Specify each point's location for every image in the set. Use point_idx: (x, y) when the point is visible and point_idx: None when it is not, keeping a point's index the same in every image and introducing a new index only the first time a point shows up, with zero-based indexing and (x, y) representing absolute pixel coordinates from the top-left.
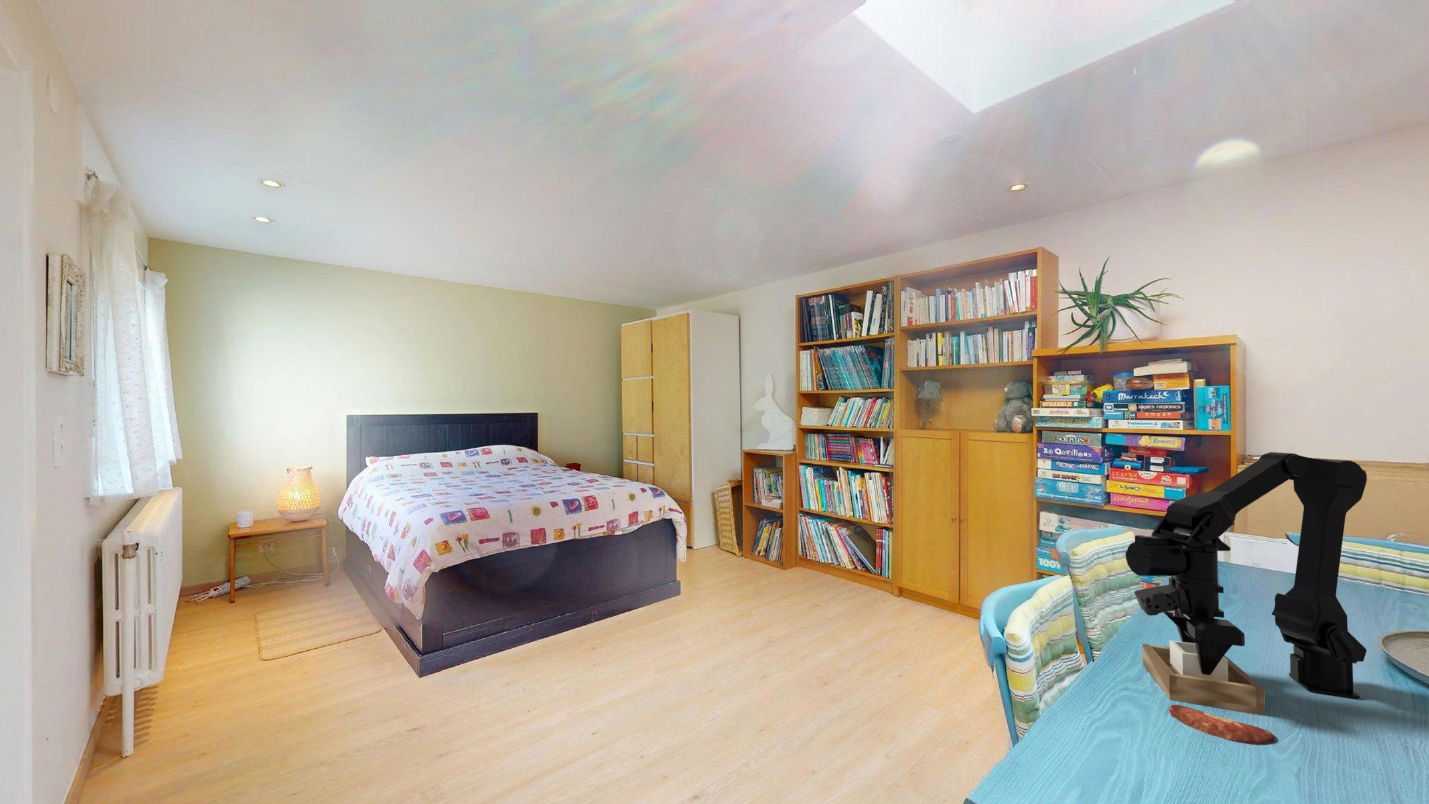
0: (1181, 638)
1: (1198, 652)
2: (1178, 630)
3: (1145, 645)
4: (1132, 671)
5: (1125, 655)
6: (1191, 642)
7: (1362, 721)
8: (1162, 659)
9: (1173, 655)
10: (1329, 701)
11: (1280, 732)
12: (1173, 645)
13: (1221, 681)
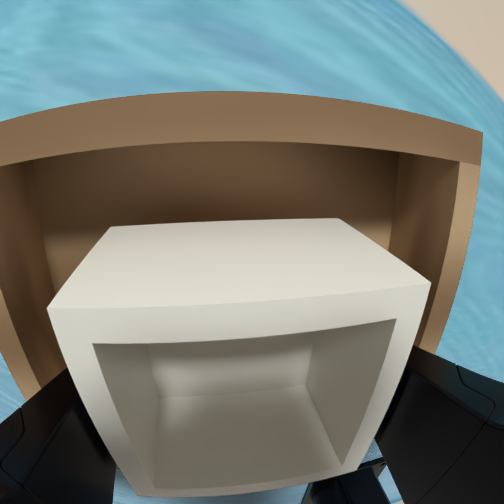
0: (437, 371)
1: (17, 424)
2: (493, 389)
3: (464, 134)
4: (312, 42)
5: (469, 103)
6: (393, 409)
7: (193, 501)
8: (409, 204)
9: (296, 244)
10: (274, 489)
11: (3, 382)
12: (328, 286)
13: (24, 376)
